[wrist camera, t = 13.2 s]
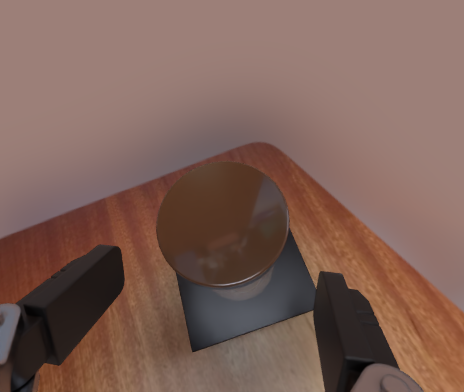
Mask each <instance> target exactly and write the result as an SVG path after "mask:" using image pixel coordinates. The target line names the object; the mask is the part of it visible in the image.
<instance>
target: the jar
mask: <svg viewBox="0 0 464 392" xmlns="http://www.w3.org/2000/svg"><path fill="white" fill-rule="evenodd" d="M289 222H290V221H289V211H288V206H287V203H286V200H285V198H284V196H283V194H282V192H281V190H280V189H279V187H278V186H277V185H276V183H275V182H274V181H273V180H272V179H271V178H270V177H268V176H267V175H266V174H265V173H263V172H262V171H260V170H258V169H257V168H254V167H252V166H250V165H247V164H244V163H239V162H231V161H220V162H213V163H209V164H205V165H202V166H200V167H197V168H195V169H193V170H191V171H189V172H188V173H186V174H185V175H183V176H182V177H181V178H180V179H179V180H177V181H176V182H175V184H174V185H173V186H172V187H171V188H170V189H169V191H168V192H167V194H166V195H165V197H164V199H163V201H162V203H161V206H160V209H159V212H158V217H157V225H156V232H157V239H158V243H159V247H160V249H161V252H162V254H163V256H164V258H165V259H166V261H167V262H168V263H169V265H170V266H171V267H172V268H173V269H174V270H175V271H176V272H177V273H178V274H179V275H181V276H182V277H184V278H185V279H187V280H189V281H190V282H192V283H194V284H196V285H198V286H201V287H204V288H207V289H210V290H211V291H213V292H214V293H216V294H217V295H219V296H220V297H222V298H224V299H227V300H232V301H244V300H248V299H251V298H253V297H255V296H257V295H258V294H260V293H261V292H262V291H263V290H264V289H265V288H266V287H267V285H268V284H269V282H270V280H271V278H272V275H273V271H274V267H275V263H276V262H277V261H278V259H279V257H280V256H281V254H282V252H283V249H284V246H285V243H286V240H287V237H288V232H289Z"/></svg>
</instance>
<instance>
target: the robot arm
mask: <svg viewBox="0 0 464 392" xmlns="http://www.w3.org/2000/svg"><path fill="white" fill-rule="evenodd" d="M124 281H125V278H124V270H123V262H122V254H121V249H120V248H119V247H117V246H109V245H98V246H96V247H95V248H94V249H93V250H91V251H90V252H89V253H87V254H86V255H84V256H82V257H80V258H78V259H75V260H73V261H71V262H70V263H69V264H67V265H66V266H65V267H63V268H62V269H61V270H60V271H58V272H57V273H55V274H54V275H53V276H51V278H49V279H47V280H46V281H45V282H43V283H42V284H41V285H40V286H38V287H37V288H36V289H34V290H33V291H32V292H30V293H29V294H28V295H26V296H25V297H24V298H22V299H21V300H20V301H18V302H17V303H16V304H11V303H6V304H0V392H38V386H39V380H40V373H39V368H40V367H41V366H42V365H43V364H44V363H48V364H53V365H58V366H60V365H61V364H62V362H63V361H64V360H65V359H66V358H67V356H68V355H69V354H70V353H71V352H72V350H73V349H74V348H75V347H76V346H77V344H78V343H79V342H80V341H81V340H82V338H83V337H84V336H85V335H86V334H87V332H88V331H89V330H90V329H91V328H92V326H93V325H94V324H95V323H96V322H97V320H98V319H99V318H100V317H101V316H102V315H103V313H104V312H105V311H106V310H107V309H108V307H109V306H110V305H111V304H112V303H113V301H114V300H115V299H116V298H117V297H118V295H119V294H120V293H121V291H122V289H123V286H124ZM313 317H314V326H315V332H316V338H317V345H318V351H319V357H320V363H321V369H322V375H323V381H324V387H325V392H424V391H423V390H422V388H421V387H420V386H419V385H418V384H417V383H416V382H415V381H414V380H413V379H412V378H411V377H410V376H408V375H407V374H406V373H404V372H403V371H401V370H400V369H399V366H398V364H397V362H396V360H395V358H394V355H393V353H392V351H391V349H390V347H389V345H388V342H387V340H386V338H385V336H384V334H383V331H382V329H381V327H380V326H379V323H378V321H377V318H376V316H374V312H373V310H372V308H371V305H370V303H369V301H368V300H367V299H366V298H365V297H364V296H363V295H362V294H361V293H360V292H359V291H358V290H354V289H348V287H347V285H346V282H345V279H344V277H343V275H342V274H341V273H332V272H324V271H320V273H319V277H318V283H317V290H316V296H315V302H314V311H313Z"/></svg>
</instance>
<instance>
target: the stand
mask: <svg viewBox="0 0 464 392" xmlns="http://www.w3.org/2000/svg"><path fill="white" fill-rule="evenodd" d="M176 276H177V280H178V285H179V290H180V295H181V300H182V305H183V310H184V314H185V319H186V324H187V329H188V334H189V339H190V343H191V348H192V352H195V351H198V350H201V349H204V348H207V347H210V346H212V345H215V344H218V343H221V342H224V341H227V340H230V339H232V338H235V337H238V336H241V335H244V334H247V333H250V332H252V331H255V330H258V329H261V328H264V327H267V326H269V325H272V324H275V323H278V322H281V321H284V320H287V319H289V318H292V317H295V316H298V315H301V314H304V313H307V312H309V311H312V310H314V302H315V296H316V288H315V285H314V283H313V281H312V279H311V276H310V274H309V272H308V269H307V267H306V265H305V262H304V260H303V258H302V256H301V253H300V251H299V249H298V246H297V244H296V242H295V240H294V237H293V235H292V233H291V230H290V228H289V232H288V237H287V240H286V243H285V246H284V249H283V252H282V254H281V256H280V257H279V259H278V261H277V262H276V263H275V267H274V271H273V275H272V278H271V280H270V282H269V284H268V285H267V287H266V288H265V289H264V290H263V291H262V292H261V293H260V294H258V295H257V296H255V297H253V298H251V299H248V300H244V301H232V300H227V299H224V298H222V297H220V296H219V295H217V294H216V293H214V292H213V291H211V290H210V289H207V288H204V287H201V286H198V285H196V284H194V283H192V282H190V281H189V280H187V279H185V278H184V277H182V276H181V275H179V274H178V273H177V272H176Z"/></svg>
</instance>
